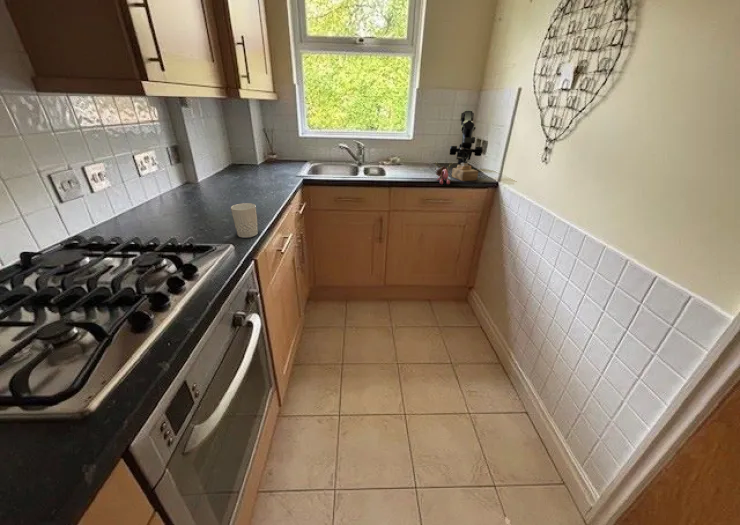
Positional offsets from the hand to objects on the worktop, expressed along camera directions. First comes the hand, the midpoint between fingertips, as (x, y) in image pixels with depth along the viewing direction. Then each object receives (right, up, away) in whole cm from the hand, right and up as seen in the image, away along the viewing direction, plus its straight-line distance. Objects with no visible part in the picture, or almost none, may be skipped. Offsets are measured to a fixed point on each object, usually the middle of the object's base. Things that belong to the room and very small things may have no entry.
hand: (464, 162), depth 196 cm
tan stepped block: (0, -9, +1) cm, 9 cm away
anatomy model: (-15, -14, -8) cm, 22 cm away
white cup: (-99, -50, -82) cm, 138 cm away
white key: (0, -2, +1) cm, 2 cm away
